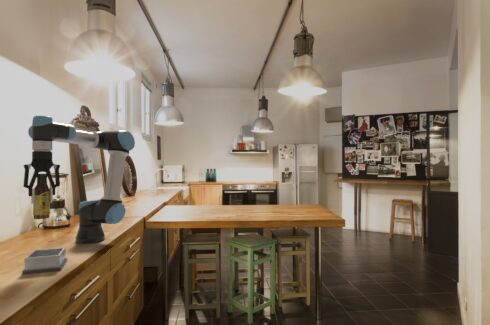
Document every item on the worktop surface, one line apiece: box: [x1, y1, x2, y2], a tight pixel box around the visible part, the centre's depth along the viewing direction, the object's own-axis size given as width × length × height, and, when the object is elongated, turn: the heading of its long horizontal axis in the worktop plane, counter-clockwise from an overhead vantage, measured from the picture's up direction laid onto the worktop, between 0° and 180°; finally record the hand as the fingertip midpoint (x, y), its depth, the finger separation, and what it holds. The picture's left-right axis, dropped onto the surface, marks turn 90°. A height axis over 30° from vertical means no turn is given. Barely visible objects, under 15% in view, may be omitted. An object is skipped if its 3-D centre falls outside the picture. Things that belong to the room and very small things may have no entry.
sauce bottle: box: [32, 173, 51, 220], centre depth 141 cm, size 6×6×20 cm
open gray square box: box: [21, 247, 69, 275], centre depth 138 cm, size 14×14×6 cm
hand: (41, 202), depth 141 cm, fingers closed on sauce bottle, 6 cm apart
